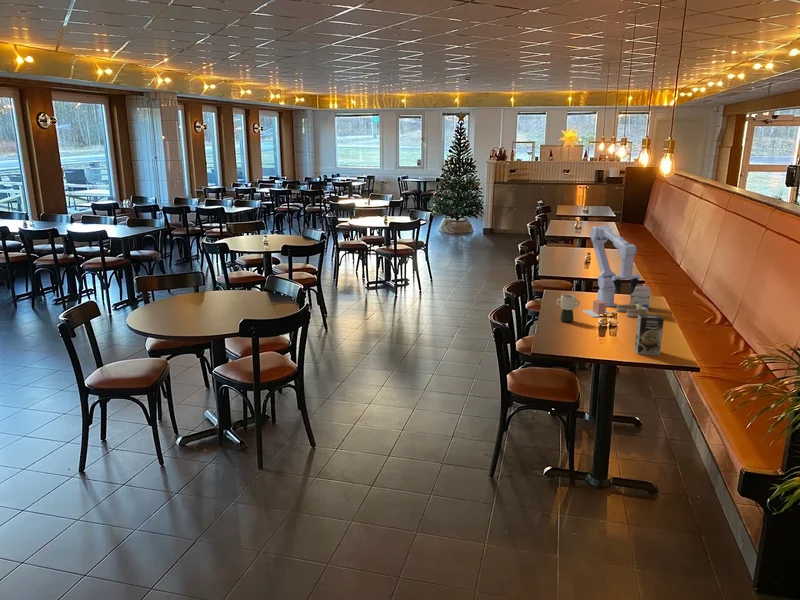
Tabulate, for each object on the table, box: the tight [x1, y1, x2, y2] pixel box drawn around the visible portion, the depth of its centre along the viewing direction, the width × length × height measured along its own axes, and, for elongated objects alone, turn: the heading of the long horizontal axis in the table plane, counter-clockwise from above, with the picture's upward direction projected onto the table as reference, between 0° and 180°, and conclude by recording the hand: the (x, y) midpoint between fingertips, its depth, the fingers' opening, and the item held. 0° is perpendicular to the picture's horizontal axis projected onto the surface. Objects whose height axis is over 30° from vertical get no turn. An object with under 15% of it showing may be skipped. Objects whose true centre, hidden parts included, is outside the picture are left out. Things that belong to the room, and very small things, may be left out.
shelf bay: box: [616, 303, 649, 318], centre depth 312 cm, size 11×11×4 cm
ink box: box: [629, 285, 651, 310], centre depth 322 cm, size 8×5×12 cm, turn 84°
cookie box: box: [634, 313, 665, 356], centre depth 251 cm, size 9×6×16 cm
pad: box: [582, 309, 611, 318], centre depth 313 cm, size 12×12×1 cm
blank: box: [592, 299, 607, 315], centre depth 311 cm, size 6×4×6 cm, turn 9°
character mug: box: [556, 294, 580, 323], centre depth 298 cm, size 11×7×13 cm, turn 71°
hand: (624, 293), depth 314 cm, fingers open, 7 cm apart
